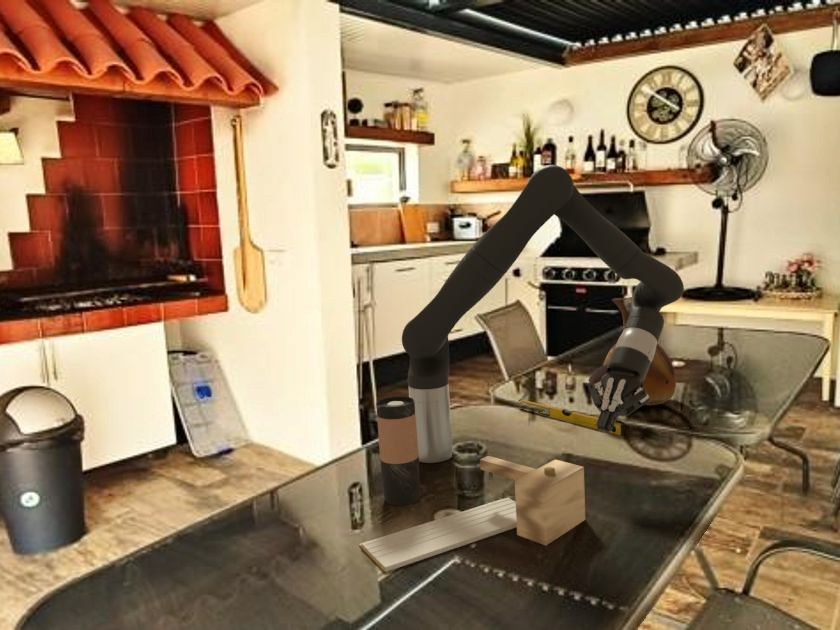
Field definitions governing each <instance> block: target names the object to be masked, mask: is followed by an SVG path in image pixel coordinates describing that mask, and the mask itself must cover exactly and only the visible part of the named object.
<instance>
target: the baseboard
mask: <svg viewBox="0 0 840 630" xmlns="http://www.w3.org/2000/svg"><path fill="white" fill-rule="evenodd" d="M506 493H507V494H508V495H510V496H511V497H514V498H515V496H514V495H512V494H510V493H509V492H507V491H506V490H504V492H503V493H502V492H501V495H502V498H500V499H499V500H494V501H491V502H488V503H486V504H482V505H479V506H475V507H473V508H469V509H466V510H464V511H460V512H456V513H453V514H450V515H447V516H444V517H441V518H438V519H435V520H430V521H428V522H424V523H421V524H419V525H415V526H412V527H408V528H406V529H402V530H400V531H399V530H398V531H396V532H393V533H390V534H387V535H383V536H380V537H376V538H374V539H370V540H368V541H364V542H362V543H359V544H358V545H359V547H360V548H361V549H362V550H363V551H364V552H365V553H366V554H367V555H368V556H369V557H370V558H371V559H372V560H373V561H374V563H376V564H377V565H378V566H379V567H380V568H381V570H382V571H384V573H387V572H391V571H393V570H396V569H399V568H401V567H404V566H408V565H410V564H414V563H416V562H419V561H422V560H425V559H428V558H431V557H434V556H436V555H440V554H442V553H445V552H449V551H451V550H454V549H457V548H461V547H463V546H466V545H469V544H472V543H475V542H477V541H480V540H484V539H487V538H489V537H492V536H496V535H497V534H498V535H499V534H500V533H505V532H507V531H509V530H513V529H517V520H516V500H512V499H511V498H510V497H505V494H506Z"/></svg>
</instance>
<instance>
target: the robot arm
mask: <svg viewBox="0 0 840 630" xmlns="http://www.w3.org/2000/svg"><path fill="white" fill-rule="evenodd" d="M553 216H555V217H557V218H559V220H561V221H562V222H563V223H565V224H566V225H567V226H568V227H570V229H572V230H573V231H574V232H575V234H576V235H578V236H579V237H580V239H582V240H583V242H585V244H586V245H587V246H588V247H589V248H590V249H591V251H592V252H593V253H594V254H595V255H596V256H597V257H598V258H599V259H600V260H601V262H603V263H605V264H606V266H607V267H608V268H609V269H610V270H612V271H613V273H615V275H617V276H618V277H620V278H621V279H622V280H637V281H639V283H637V285H636V286H635V288H634V290H633V292H632V296H631V297H632V301H631V308H630V316H629V318H628V321H627V323H626V325H625V328H624V327H623V329H624V330H622V333H621V334H620V336H618V337H619V338H617V339H618V340H617V342H616V343H617V344H616V343H615V344H616V346H615V349H614V351H613V354H612V356H611V358H610V361H609V363H608V366H607V371H606V374H605V375H604V376H603V377H602V378H601V381H600V382H598V383H596V384H593V383H592V382H591V383H590V382H589V383H588V384H587V388H588V390H589V393H590V397H591V399H592V401H593V405H594V406H595V407H596V409H597V410H598V411H599V412H600V414H599V416H598V417H597V418H598V421H597V423H596V425H597V428H598V429H597V430H598V431H599V432H600V433H603V434H609V433H610V432H609V431H611V430H612V429H613V426H614V424H615V422H616V421H617V420H616V419H617V418H618V417H619V416H620V417H621V416H624V417H628V416H630V415H631V414H633V413H634V412H635V411H637V410H638V409H640V408H641V407H642V406H645V405H644V404H645V403H647V402H648V401H649V400H650V397H649V396H648V394H647V393H646V392H645V390H643V381H644V380H645V377H646V375H647V372H648V369H649V367H650V364H651V362H652V360H653V357H654V354H655V350H656V345H657V343H658V342H659V339H660V337H661V334H662V332H663V329H664V325H665V320H664V319H665V318H664V317H663V315H662V313H661V312H660V311H661V310H662V308H663V307H665V306H668V305H670V304H673V303H675V302H677V301H678V300H679V299H680V298H682V296H683V294H684V291H685V288H684V283H683V280H682V278H681V276H680V275H679V274H678V273H677V272H676V271H675V270H674V269H673V268H671V267H670V266H668V265H667V264H666V263H663V262H662V261H660V260H658V259H657V258H654V257H653V256H651V255H649V254H647V253H645V252H643V250H642V249H641V248H640V247H639V246H638V245H637V244H636V243H635V242H634V241H633V240H631V238H629V237H628V236H627V235H626V234H625V233H624V232H623V231H621V229H620V228H618V227H617V226H616V225H614V223H612V222H611V221H609V220H608V219H607V218H606V217H604V216H603V215H602V214H601V213H600V212H599V211H598V210H596V208H594V207H593V205H591V204H590V202H588V201H587V199H586V198H585V197H584V196H583V195H582V194H581V192H580V191H579V189H578V188H577V187H576V185H575V184H574V181H573V178H572V176H571V175H570V173H569V172H568V171H567V170H566V169H565V168H563V167H562V166H559V165H556V164H548V165H547V164H546V165H543V166H540V167H539V168H537V169H536V170H535V171H534V172H533V173H532V174H531V175H530V177H529V180H528V181H527V183H526V185H525V187H524V188H523V190H522V191H521V192H520V194H519V195H518V197H517V198H516V200H515V201H514V202H513V203H512V205H511V207H509V209H508V210H507V211H506V213H505V214H504V215H503V216H502V217H501V218H500V219H498V220H497V221H496V222H495V223H494V224H493V225H492V226H490V228H488V229H487V230H486V231H485V232H484V233H483V234H482V235H481V236H479V238H478V239H477V241H476V242H475V243H473V245H472V246H471V248H470V249H469V250H468V251H467V252H466V253H465V255H464V256H463V257H462V258H461V259H460V261H459V262H458V264H457V265H455V268H454V269H453V270H452V271H451V273H450V275H448V277H447V279H446V280H445V281H444V284H443V285H442V287H440V289H439V291H438V292H437V294H436V295H435V296H434V297H433V298H432V299H431V300H430V301H429V303H428V304H427V305H425V306H424V308H423V309H421V311H419V313H417V315H416V316H414V317H413V318H412V319H411V320H408V322H407V323H406V325H405V326H404V327H403V330H402V334H401V345H402V347H403V350H404V351H405V352H406V354H408V355H409V367H408V373H407V385H408V397H410V398H413V399H414V403H415V416H416V429H417V441H418V454H419V463H424V464H425V463H426V464H435V463H441V462H445V461H447V460H448V461H449V460H450V459H451V458H452V457H453V456H452V450H453V436H452V434H453V432H452V418H451V417H452V415H451V402H450V386H449V385H450V384H449V383H450V382H449V372H450V347H449V335H450V333H451V332H452V330H453V329H454V328H455V326H456V325H457V324H458V322H459V321H461V319H462V317H464V316H465V315H466V314H467V312H469V311H470V310H471V309H472V308H474V307H475V306H476V304H477V303H479V302H480V301H481V300H482V299H484V298H485V296H486V295H488V294H489V292H491V291H492V289H493V288H494V287H495V286H496V285H497V284H498V283H499V282H500V280H502V278H503V277H504V276H505V275H506V273H507V272H508V271H509V270H510V269H511V267H512V266H513V264H514V263H515V262H516V261H517V259H519V257H520V255H521V253H522V252H523V251H524V250H525V248H526V247H527V245H528V243H529V242H530V240H531V239H532V238H533V237H534V235H535V234H536V233H537V232H538V231H539V230H540V229H541V228H542V227H543V225H545V224H546V223H547V222H548V221H549V220H550V219H551V218H552V217H553ZM602 388H603V390H604V394H603V391H602ZM601 394H603V396H602V397H603V398H602V397H601ZM603 399H604V400H603ZM620 417H619V418H620Z"/></svg>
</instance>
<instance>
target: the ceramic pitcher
mask: <svg viewBox="0 0 840 630" xmlns="http://www.w3.org/2000/svg"><path fill="white" fill-rule="evenodd" d="M611 301H612V302H613V303H614V304H615V305H616V306H617V307H618V309H619V310H620V313H621V315H622V321H623V328H622V329H623V330H624V328H625V325H626V323H627V321H628V318H629V316H630V308H631V301H632V296H630V297H628V296H627V297H619V298H618V297H617V298H616V297H615V298H612V299H611ZM623 330H622V331H623ZM616 344H617V342H616V343H615V344H614V345H613V346H612V347H611V349H610V350H609V351H608V353H607V354H606V357H605V359H604V361H603V364H602V366H604V365H606V364H608V363H609V361H610V358H611V356H612V354H613V351H614V349H615V346H616ZM674 369H675V368H674V367H673V363H672V361H671V359H670V357H669V356H668V354H667V352H666V350H664V348H663V347H662V346H661V345H660V344H659V343H658V342H657V345H656V350H655V354H654V357H653V360H652V362H651V364H650V367H649V369H648V372H647V375H646V377H645V380H644V381H643V390H645V392H646V393H647V394H648V396H649V397H650V400H649V401H648V402H647V403H645V404H644V405H643V406H657V405H659V404H660V405H663V404H664V403H666V402H668V401H669V400H670V399H672V398H673V396H674V394H675V393H676V385H677V379H676V373H675V370H674ZM602 394H603V395H604V390H603V388H602ZM662 403H663V404H662ZM660 405H659V406H660Z"/></svg>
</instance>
